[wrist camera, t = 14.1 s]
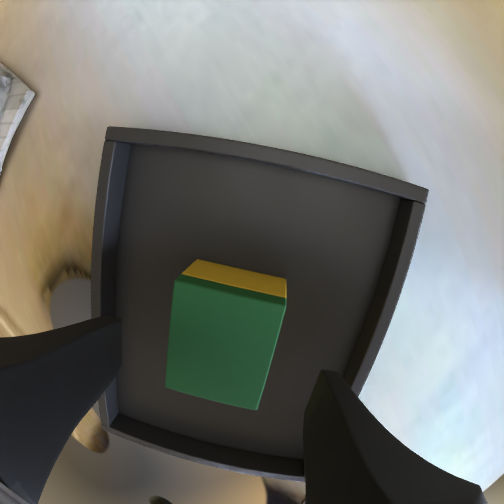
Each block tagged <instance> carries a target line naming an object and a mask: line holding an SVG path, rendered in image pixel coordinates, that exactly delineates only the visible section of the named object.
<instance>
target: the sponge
mask: <svg viewBox="0 0 504 504" xmlns="http://www.w3.org/2000/svg"><path fill="white" fill-rule="evenodd" d="M285 310H286V279H284V278H280V277H275V276H271V275H266V274H261V273H257V272H252V271H248V270H243V269H239V268H234V267H230V266H226V265H221V264H217V263H212V262H208V261H204V260H199V259H197V260H196V261H195V262H193V263H192V264H191V265H190V266H189V267H188V268H187V269H186V270H185V271H184V272H183V273H182V274H181V275H179V276H178V277H177V278H176V279H175V280H174V287H173V296H172V305H171V315H170V325H169V337H168V349H167V362H166V377H165V387H167V388H170V389H173V390H176V391H180V392H183V393H187V394H190V395H194V396H197V397H201V398H205V399H209V400H213V401H217V402H221V403H225V404H229V405H233V406H238V407H242V408H247V409H252V410H257V409H258V406H259V402H260V399H261V396H262V392H263V389H264V385H265V382H266V379H267V375H268V372H269V368H270V365H271V361H272V358H273V354H274V350H275V347H276V343H277V339H278V336H279V332H280V328H281V325H282V321H283V317H284V313H285Z"/></svg>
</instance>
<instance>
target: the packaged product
mask: <svg viewBox="0 0 504 504" xmlns="http://www.w3.org/2000/svg"><path fill="white" fill-rule="evenodd" d="M34 95H35V93H34V92H33V91H32V90H31V89H30V88H29V87H28V86H27V85H25V84H24V83H23V82H22V81H21V80H20V79H19V78H18V77H17V76H16V75H15V74H14V73H13V72H12V71H10V70H9V69H7V68H6V67H5V66H4V65H2V64H1V63H0V174H1V169H2V164H3V161H4V159H5V156H6V153H7V150H8V147H9V145H10V142H11V139H12V137H13V135H14V133H15V131H16V129H17V127H18V125H19V123H20V121H21V119H22V117H23V115H24V113H25V111H26V109H27V108H28V106H29V104H30V102H31V100H32V99H33V97H34Z"/></svg>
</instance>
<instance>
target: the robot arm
mask: <svg viewBox="0 0 504 504" xmlns="http://www.w3.org/2000/svg"><path fill="white" fill-rule="evenodd" d="M121 366H122V320H121V319H118V318H116V317H113V316H110V315H106V316H101V317H97V318H93V319H90V320H86V321H83V322H80V323H76V324H73V325H69V326H66V327H62V328H58V329H54V330H50V331H46V332H41V333H37V334H31V335H25V336H17V337H3V338H0V504H38V501H39V499H40V496H41V493H42V491H43V488H44V486H45V483H46V481H47V479H48V477H49V474H50V472H51V470H52V468H53V466H54V464H55V462H56V460H57V458H58V456H59V454H60V452H61V451H62V449H63V447H64V445H65V444H66V442H67V440H68V439H69V437H70V435H71V434H72V432H73V430H74V429H75V427H76V426H77V425H78V423H79V422H80V421H81V419H82V418H83V417H84V416H85V415H86V413H87V412H88V411H89V410H90V409H91V407H92V406H93V405H94V403H96V401H97V400H98V399H99V398H100V397H101V395H102V394H103V393H104V392H105V390H106V389H107V388H108V387H109V385H110V384H111V383H112V381H113V379H114V378H115V376H116V375H117V373H118V371H119V369H120V368H121ZM303 450H304V465H305V482H306V497H305V501H304V502H303V504H487V501H486V499H485V497H484V494H483V492H482V490H481V488H480V486H479V485H477V484H474V483H472V482H469V481H466V480H464V479H461V478H459V477H456V476H454V475H452V474H450V473H448V472H446V471H444V470H442V469H440V468H438V467H436V466H434V465H433V464H431V463H429V462H428V461H426V460H425V459H423V458H422V457H420V456H419V455H417V454H416V453H414V452H413V451H411V450H410V449H409V448H408V447H406V446H405V445H404V444H402V443H401V442H400V441H399V440H398V439H397V438H395V437H394V436H393V435H392V434H391V433H390V432H389V431H388V430H387V429H386V428H385V427H384V426H383V425H382V424H381V423H380V422H379V421H378V420H377V419H376V418H375V417H374V416H373V415H372V414H371V412H370V411H369V410H368V409H367V408H366V407H365V406H364V404H363V403H362V402H361V401H360V399H359V398H358V397H357V396H356V394H355V393H354V392H353V391H352V389H351V388H350V387H349V385H348V384H347V383H346V381H345V380H344V379H343V378H342V376H341V375H340V374H339V373H338V372H335V371H329V370H323V369H321V371H320V373H319V376H318V378H317V381H316V384H315V386H314V389H313V391H312V394H311V396H310V399H309V401H308V404H307V406H306V408H305V411H304V421H303Z"/></svg>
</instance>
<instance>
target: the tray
mask: <svg viewBox="0 0 504 504" xmlns="http://www.w3.org/2000/svg"><path fill="white" fill-rule="evenodd" d="M105 140H106V141H105V142H104V148H103V153H102V160H101V166H100V173H99V180H98V188H97V196H96V205H95V216H94V227H93V242H92V263H91V319H93V318H97V317H101V316H106V315H110V316H113V317H116V318H118V319H121V320H122V366H121V368H120V369H119V371H118V373H117V375H116V376H115V378H114V379H113V381H112V383H111V384H110V385H109V387H108V388H107V389H106V390H105V392H104V393H103V394H102V395H101V397H100V398H99V399H98V403H99V410H100V417H101V423H102V429H103V430H105V431H108V432H110V433H113V434H115V435H117V436H120V437H122V438H124V439H127V440H130V441H132V442H135V443H138V444H140V445H143V446H146V447H149V448H151V449H154V450H157V451H160V452H163V453H166V454H169V455H172V456H176V457H179V458H182V459H186V460H190V461H193V462H197V463H201V464H204V465H208V466H212V467H216V468H221V469H225V470H230V471H235V472H239V473H245V474H250V475H256V476H262V477H268V478H275V479H282V480H291V481H300V482H305V465H304V450H303V421H304V411H305V408H306V406H307V404H308V401H309V399H310V396H311V394H312V391H313V389H314V386H315V384H316V381H317V378H318V376H319V373H320V371H321V369H323V370H329V371H335V372H338V373H339V374H340V375H341V376H342V378H343V379H344V380H345V381H346V383H347V384H348V385H349V387H350V388H351V389H352V391H353V392H354V393H355V394H356V396H357V397H358V396H359V394H360V392H361V390H362V388H363V385H364V383H365V381H366V379H367V377H368V375H369V372H370V370H371V368H372V366H373V364H374V361H375V359H376V357H377V354H378V352H379V349H380V347H381V345H382V342H383V340H384V337H385V335H386V332H387V330H388V327H389V324H390V322H391V319H392V316H393V314H394V311H395V308H396V305H397V303H398V300H399V297H400V294H401V291H402V288H403V285H404V282H405V279H406V276H407V272H408V269H409V266H410V263H411V259H412V256H413V252H414V249H415V245H416V242H417V238H418V234H419V230H420V226H421V222H422V218H423V214H424V210H425V203H426V201H427V196H428V191H429V190H428V189H426V188H423V187H420V186H417V185H414V184H411V183H408V182H405V181H402V180H399V179H395V178H392V177H389V176H386V175H382V174H379V173H375V172H372V171H368V170H365V169H361V168H358V167H354V166H350V165H346V164H343V163H339V162H335V161H331V160H327V159H323V158H319V157H314V156H310V155H306V154H301V153H297V152H292V151H287V150H283V149H278V148H273V147H268V146H262V145H257V144H252V143H246V142H240V141H234V140H228V139H222V138H215V137H209V136H202V135H194V134H186V133H178V132H170V131H160V130H150V129H139V128H126V127H111V126H109V127H107V131H106V137H105ZM197 259H199V260H204V261H208V262H212V263H217V264H221V265H226V266H230V267H234V268H239V269H243V270H248V271H252V272H257V273H261V274H266V275H271V276H275V277H280V278H284V279H286V310H285V313H284V317H283V321H282V325H281V328H280V332H279V336H278V339H277V343H276V347H275V350H274V354H273V358H272V361H271V365H270V368H269V372H268V375H267V379H266V382H265V385H264V389H263V392H262V396H261V399H260V402H259V406H258V409H257V410H252V409H247V408H242V407H238V406H233V405H229V404H225V403H221V402H217V401H213V400H209V399H205V398H201V397H197V396H194V395H190V394H187V393H183V392H180V391H176V390H173V389H170V388H167V387H165V377H166V362H167V349H168V337H169V325H170V315H171V305H172V296H173V287H174V280H175V279H176V278H177V277H178V276H179V275H181V274H182V273H183V272H184V271H185V270H186V269H187V268H188V267H189V266H190V265H191V264H192V263H193V262H195V261H196V260H197Z"/></svg>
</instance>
